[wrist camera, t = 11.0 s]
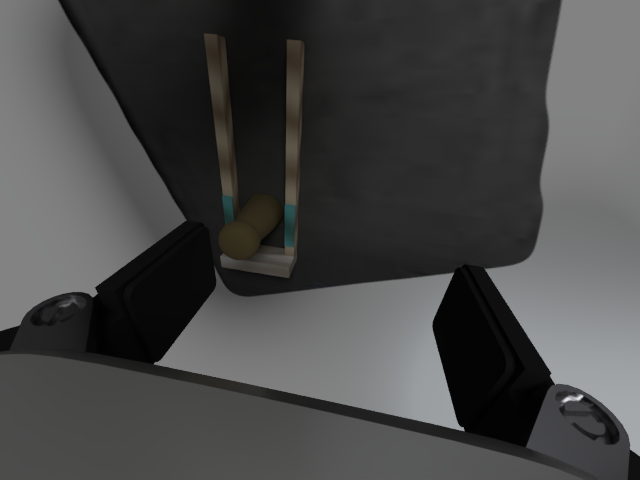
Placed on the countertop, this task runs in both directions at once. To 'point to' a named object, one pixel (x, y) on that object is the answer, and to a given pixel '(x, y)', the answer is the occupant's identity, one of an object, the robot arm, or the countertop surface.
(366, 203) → the countertop surface
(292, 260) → the guide channel
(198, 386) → the robot arm
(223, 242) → the dark brown rounded piece
